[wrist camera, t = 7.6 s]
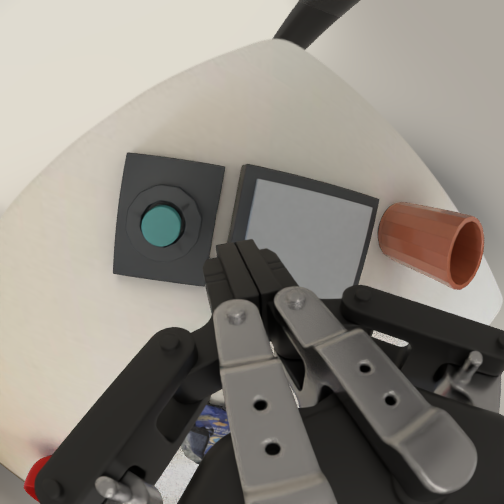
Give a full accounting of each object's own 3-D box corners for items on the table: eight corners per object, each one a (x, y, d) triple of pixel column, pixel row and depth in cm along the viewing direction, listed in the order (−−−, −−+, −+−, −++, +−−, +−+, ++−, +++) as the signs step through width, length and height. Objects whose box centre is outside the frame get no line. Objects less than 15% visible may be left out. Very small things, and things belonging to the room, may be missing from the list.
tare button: (147, 202, 19) (143, 204, 18) (184, 207, 20) (183, 209, 18) (142, 239, 20) (139, 243, 18) (178, 244, 20) (177, 249, 19)
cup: (385, 195, 26) (458, 208, 17) (422, 209, 28) (489, 225, 18) (371, 255, 27) (438, 287, 18) (410, 262, 29) (472, 291, 20)
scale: (242, 165, 22) (248, 163, 20) (367, 197, 26) (382, 199, 23) (216, 307, 25) (218, 320, 23) (336, 316, 28) (347, 327, 26)
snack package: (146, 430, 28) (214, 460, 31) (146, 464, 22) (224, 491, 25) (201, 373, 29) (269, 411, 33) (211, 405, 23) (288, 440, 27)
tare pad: (130, 154, 20) (121, 150, 17) (223, 167, 22) (228, 165, 19) (116, 268, 22) (107, 280, 19) (203, 281, 24) (205, 294, 21)
